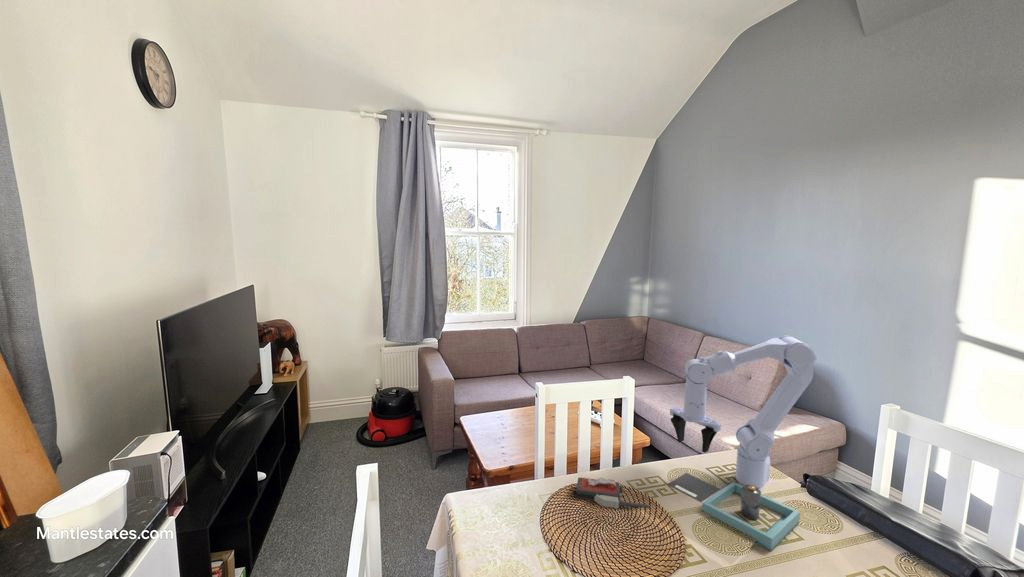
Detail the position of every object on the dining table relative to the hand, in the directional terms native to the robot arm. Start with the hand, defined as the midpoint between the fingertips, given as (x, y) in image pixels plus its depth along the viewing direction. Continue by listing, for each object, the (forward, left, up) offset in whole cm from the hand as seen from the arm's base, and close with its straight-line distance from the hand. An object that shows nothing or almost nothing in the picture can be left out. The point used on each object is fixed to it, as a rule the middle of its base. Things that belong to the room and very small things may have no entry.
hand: (692, 446), depth 121 cm
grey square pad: (+6, +4, -9) cm, 12 cm away
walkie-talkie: (+28, -7, -10) cm, 30 cm away
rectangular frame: (+6, +19, -9) cm, 22 cm away
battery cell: (+6, +19, -9) cm, 22 cm away
